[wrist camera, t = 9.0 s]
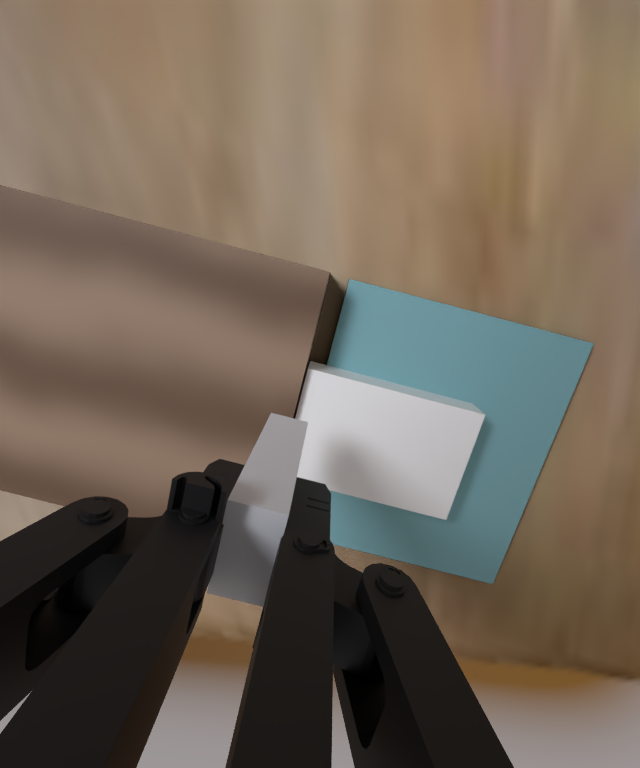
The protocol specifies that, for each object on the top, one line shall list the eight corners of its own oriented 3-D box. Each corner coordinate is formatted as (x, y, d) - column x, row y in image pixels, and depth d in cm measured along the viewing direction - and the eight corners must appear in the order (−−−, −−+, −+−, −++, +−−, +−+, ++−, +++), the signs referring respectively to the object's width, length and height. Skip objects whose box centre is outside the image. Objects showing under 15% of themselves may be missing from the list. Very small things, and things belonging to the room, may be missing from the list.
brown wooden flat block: (27, 194, 21) (-23, 179, 18) (330, 274, 21) (329, 272, 18) (7, 457, 24) (-37, 480, 21) (267, 522, 25) (258, 554, 22)
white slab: (310, 360, 22) (308, 368, 20) (472, 403, 22) (485, 414, 20) (284, 461, 23) (280, 477, 21) (436, 500, 23) (446, 520, 21)
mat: (349, 279, 21) (349, 279, 21) (588, 342, 21) (593, 343, 21) (283, 526, 25) (282, 531, 24) (489, 578, 25) (492, 584, 24)
